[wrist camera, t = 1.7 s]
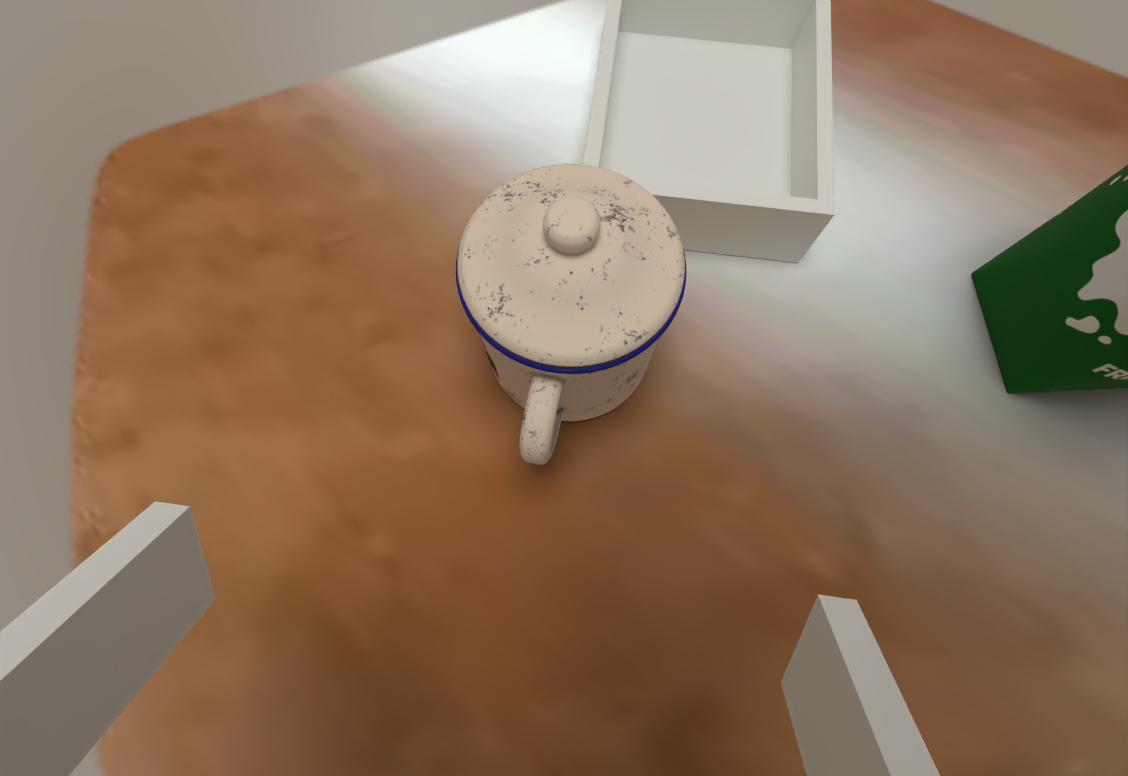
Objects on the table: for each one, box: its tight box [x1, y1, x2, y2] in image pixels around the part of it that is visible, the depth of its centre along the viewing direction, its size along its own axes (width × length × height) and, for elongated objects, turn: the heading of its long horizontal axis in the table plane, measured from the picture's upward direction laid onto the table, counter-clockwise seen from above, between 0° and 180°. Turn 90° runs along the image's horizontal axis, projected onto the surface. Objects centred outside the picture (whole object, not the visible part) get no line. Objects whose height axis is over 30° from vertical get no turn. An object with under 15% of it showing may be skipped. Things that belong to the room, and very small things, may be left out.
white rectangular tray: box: [583, 0, 834, 263], centre depth 32 cm, size 13×16×4 cm
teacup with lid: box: [456, 164, 686, 465], centre depth 24 cm, size 12×9×12 cm
